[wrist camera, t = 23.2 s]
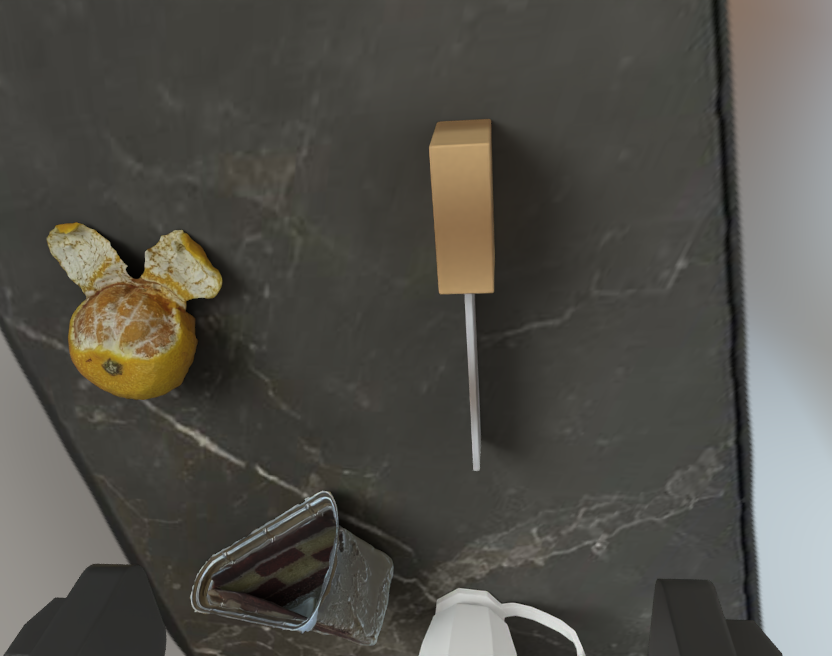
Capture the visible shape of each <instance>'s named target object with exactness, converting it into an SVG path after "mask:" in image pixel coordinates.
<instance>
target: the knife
mask: <svg viewBox="0 0 832 656" xmlns="http://www.w3.org/2000/svg"><path fill="white" fill-rule="evenodd" d="M429 156H430V171H431V185H432V200H433V214H434V229H435V243H436V258H437V272H438V286H439V293H440V294H465V312H466V332H467V352H468V372H469V391H470V411H471V431H472V451H473V470H474V471H479V470H480V450H481V426H480V403H479V380H478V357H477V333H476V310H475V293H493V292H494V266H495V247H494V211H493V175H492V139H491V120H490V119H480V120H462V121H443V122H437V124H436V128H435V131H434V134H433V137H432V140H431V143H430V146H429Z"/></svg>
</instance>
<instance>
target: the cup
mask: <svg viewBox="0 0 832 656" xmlns="http://www.w3.org/2000/svg"><path fill="white" fill-rule="evenodd" d="M509 616H520V617H524V618H528V619H532V620H535V621H537V622H539V623H541V624H544V625H546V626H548V627H550V628H552V629H554V630H556V631H558V632H560V633H561V634H563V635H564V636H565V637H567V638H568V639H570V640H571V641H572V642H574V645H575V647H576V649H577V656H585V653H584V650H583V647H582V645H581V643H580V641H579V639H578V636H577V634H576V632H575V631H574V630H573V629H572V628H570V627H569V626H568V625H567V624H566V623H564V622H563V621H562V620H560V619H558V618H556V617H554V616H552V615H549V614H547V613H545V612H543V611H540V610H538V609H536V608H533V607H531V606H526V605H522V604H518V603H505V604H501V603H500V602H499V601H498V600H496V599H495V598H494V597H493V596H492V595H491V594H490V593H489V592H488V591H481V590H472V589H463V588H457V589H456V590H454V591H452V592H450V593H448V594H446V595H444V596H443V597H441V598H439V599H437V604H436V615H434V616H433V619H432V621H431V624H430V626H429V628H428V631H427V633H426V635H425V638H424V640H423V643H422V646H421V649H420V653H419V656H517V654H516V650H515V647H514V644H513V641H512V638H511V635H510V631H509V628H508V625H507V624H506V623H505V622H504V620H505V617H509Z"/></svg>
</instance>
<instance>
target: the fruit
mask: <svg viewBox="0 0 832 656" xmlns="http://www.w3.org/2000/svg"><path fill="white" fill-rule="evenodd" d="M47 242H48V246H49V249H50V252H51V254H52V255H53V256H54V257H55V258H56V259H57V260H58V262H59V263H60V265H61V267H62V268H63V269H64V270H65V271H66V272H67V274H68V276H69V278H71V279H72V280H73V281H74V283H76V284H78V285H79V286H80V287H81V289H82V291H83V293H84V294H85V295H86V297H87V298H86V300H85V301H83V302H82V303H81V304H80V306H78V307H77V309H76V310H75V312H74V313H73V315H72V318H71V320H70V326H69V335H68V341H69V352H70V355H71V359H72V362H73V363H74V365H75V366H76V368H77V369H78V371H79V372H80V373H81V374H82V375H83V376H84V377H85V378H87V379H88V380H89V381H90V382H92V383H93V384H95V385H96V386H98V387H99V388H101V389H102V390H105V391H107V392H109V393H112V394H113V395H115V396H119V397H125V398H127V399H130V398H132V399H135V400H138V399H141V400H144V399H150V398H155V397H158V396H161V395H164V394H166V393H168V392H170V391H171V390H172V389H174V388H176V387H178V386H180V385H181V384H182V382H183V380H184V377H185V375H186V374H187V372H188V368H189V367H190V366H191V364H192V363H193V360H194V354H195V352H196V346H197V343H198V339H196V336H195V318H194V317H193V316H192V315H190V314H188V313H187V312H186V301H188V300H190V299H193V298H207V299H210V298H214V297H215V296H216V295H217V294H218V293H219V291H220V289H221V287H222V282H223V281H222V276H221V274H220V272H219V271H218V270H217V269H216V268H214V267H213V266H212V264H211V262H210V261H209V260H208V259H207V256H206V253H205V252H204V250H203V248H202V247H201V246H200V245H199V244H197V243H196V242H194V241H193V240H192V239H191V238H190V236H189V235H188V234H186V233H184V232H183V230H175V231H173V232H172V233H170V234H168V235H165V236H163V235H162V236H161V239H160V241H159V242H158V243H157V244H156V245H155V246H154V247H152V248H150V249H147V251H146V252H145V271H144V273H143V275H141V278H139V279H134V278H132V277H130V276H129V275H128V274H127V272H126V267H128V266H127V265H125V263H124V262H123V261H122V260H121V259H120V257H119V256H118V255H117V253H116V251H115V250H114V249H113V248H112V247H111V246H110V242H109V241H108V240H107V239H105V238H104V237H103V236H101V235H100V234H99V233H98V232H97V231H95V230H94V229H90V228H88V227H86V226H85V225H83V224H80V223H77V222H76V223H73V224H71V223H68V224H61V225H56V226H55V229H53V230H52V231H50V234H49V236H48V238H47Z"/></svg>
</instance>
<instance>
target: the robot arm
mask: <svg viewBox="0 0 832 656" xmlns="http://www.w3.org/2000/svg"><path fill="white" fill-rule="evenodd" d="M165 650H166V630H165V626H164V623H163V620H162V617H161V614H160V612H159V609H158V606H157V603H156V600H155V598H154V595H153V592H152V589H151V586H150V584H149V581H148V578H147V575H146V573H145V570H144V569H143V568H142V567H141V566H140V565H123V564H93V565H90V566H89V567H87V568H86V569H85V571H84V572H83V573H82V574H81V576H80V577H79V579H78V580H77V582H76V583H75V585H74V587H73V588H72V590H71V591H70V593H69V594H68V596H67V597H66V598H54V599H53V600H52V601H51V602H50V603H49V604H47V605H46V606H45V607H44V608H43V609H42V610H41V611H40V612H38V613H37V614H36V615H35V616H34V617H33V618H32V619H30V620H29V621H28V622H27V623H26V624H25V625H24V626H23V628H22V629H21V631H20V632H19V634H18V635H17V637H16V638H15V640H14V641H13V642H12V644H11V645H10V647H9V648H8V650H7V651H6V653H5V654H4V656H164V655H165ZM648 656H782V653H781V652H780V651H779V650H778V648H777V647H776V646H775V645H774V644H773V643H772V641H771V640H770V639H769V638H768V637H767V636H766V634H765V633H764V632H763V631H762V630H761V629H760V627H759V626H758V625H757V624H756V623H755V621H754V620H725V617H724V614H723V611H722V608H721V605H720V602H719V598H718V595H717V592H716V590H715V587H714V585H713V583H712V582H711V581H710V580H689V579H657V581H656V584H655V592H654V600H653V609H652V618H651V627H650V636H649V646H648Z"/></svg>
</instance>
